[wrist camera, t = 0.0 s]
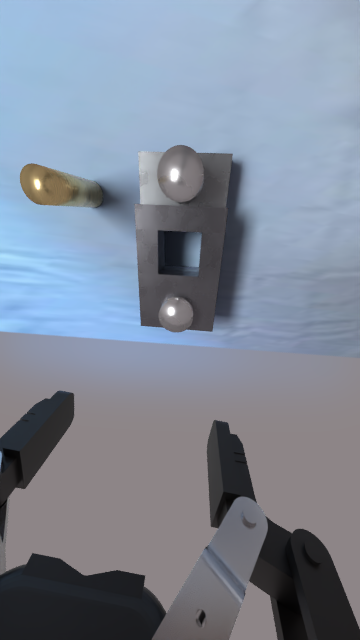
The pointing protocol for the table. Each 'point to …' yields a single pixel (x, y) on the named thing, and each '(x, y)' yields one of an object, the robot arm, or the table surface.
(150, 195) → the knobbed metal plate
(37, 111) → the table surface
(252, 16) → the table surface
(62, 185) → the brass pin
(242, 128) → the table surface
